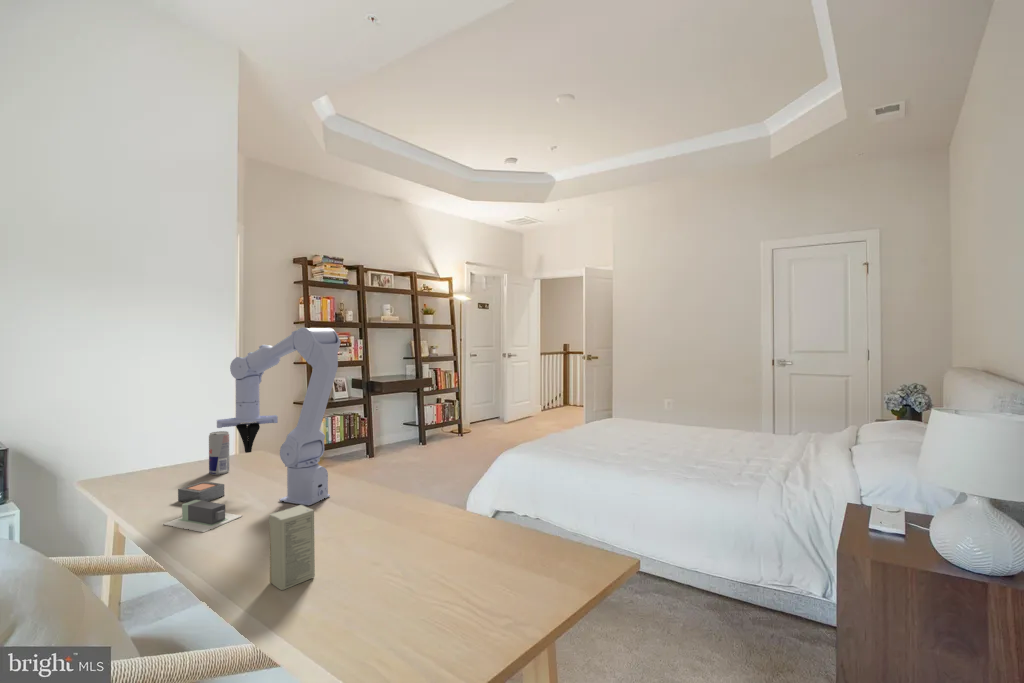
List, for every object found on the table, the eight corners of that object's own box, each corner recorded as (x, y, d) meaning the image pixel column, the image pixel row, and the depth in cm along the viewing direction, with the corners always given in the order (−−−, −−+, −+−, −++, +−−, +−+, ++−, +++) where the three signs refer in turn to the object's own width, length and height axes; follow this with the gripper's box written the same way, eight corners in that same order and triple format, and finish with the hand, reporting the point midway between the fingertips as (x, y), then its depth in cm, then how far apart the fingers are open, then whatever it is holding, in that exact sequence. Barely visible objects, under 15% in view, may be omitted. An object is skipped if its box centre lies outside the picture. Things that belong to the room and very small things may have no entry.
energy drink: (209, 471, 157) (209, 431, 157) (230, 469, 160) (229, 430, 159) (208, 476, 152) (207, 435, 152) (228, 474, 155) (228, 433, 154)
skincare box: (302, 570, 94) (302, 503, 94) (315, 578, 91) (315, 509, 91) (268, 583, 89) (267, 513, 89) (280, 591, 86) (280, 519, 86)
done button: (215, 493, 134) (215, 485, 134) (200, 498, 130) (200, 490, 130) (202, 491, 136) (202, 483, 135) (187, 496, 131) (187, 488, 131)
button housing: (224, 495, 135) (224, 484, 135) (199, 504, 128) (199, 492, 128) (203, 492, 137) (203, 481, 137) (178, 500, 131) (178, 489, 130)
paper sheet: (242, 516, 120) (242, 515, 120) (203, 532, 111) (203, 531, 111) (203, 510, 124) (203, 508, 124) (163, 524, 115) (163, 523, 115)
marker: (228, 519, 117) (228, 505, 117) (215, 525, 114) (215, 509, 114) (196, 514, 121) (195, 499, 121) (182, 519, 118) (182, 504, 118)
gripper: (274, 398, 147) (274, 445, 148) (215, 401, 139) (216, 452, 140) (278, 401, 141) (279, 450, 142) (217, 405, 133) (218, 457, 134)
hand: (248, 451), depth 140 cm, fingers closed
